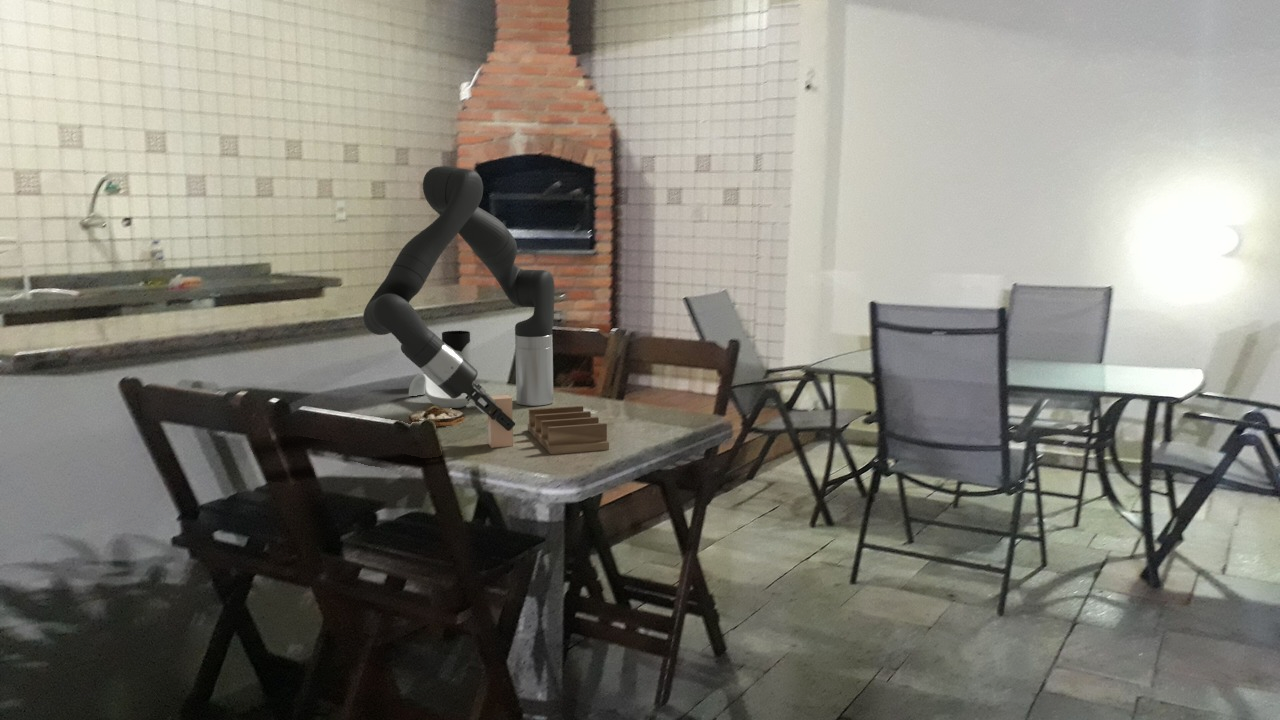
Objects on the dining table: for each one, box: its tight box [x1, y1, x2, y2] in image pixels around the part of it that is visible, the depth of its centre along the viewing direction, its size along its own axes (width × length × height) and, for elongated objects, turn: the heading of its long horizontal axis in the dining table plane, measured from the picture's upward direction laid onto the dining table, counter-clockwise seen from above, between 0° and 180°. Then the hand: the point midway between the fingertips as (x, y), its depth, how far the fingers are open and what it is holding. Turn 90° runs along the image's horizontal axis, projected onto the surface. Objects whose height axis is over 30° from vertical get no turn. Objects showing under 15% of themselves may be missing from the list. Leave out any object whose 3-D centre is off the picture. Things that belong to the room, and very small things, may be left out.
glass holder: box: [441, 330, 472, 365], centre depth 256 cm, size 9×14×15 cm, turn 91°
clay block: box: [487, 394, 514, 449], centre depth 193 cm, size 4×4×10 cm
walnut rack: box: [527, 405, 610, 455], centre depth 198 cm, size 22×12×5 cm, turn 19°
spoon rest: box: [408, 373, 471, 409], centre depth 235 cm, size 24×12×7 cm, turn 42°
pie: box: [408, 405, 466, 429], centre depth 215 cm, size 15×15×4 cm
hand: (509, 424), depth 194 cm, fingers open, 4 cm apart
